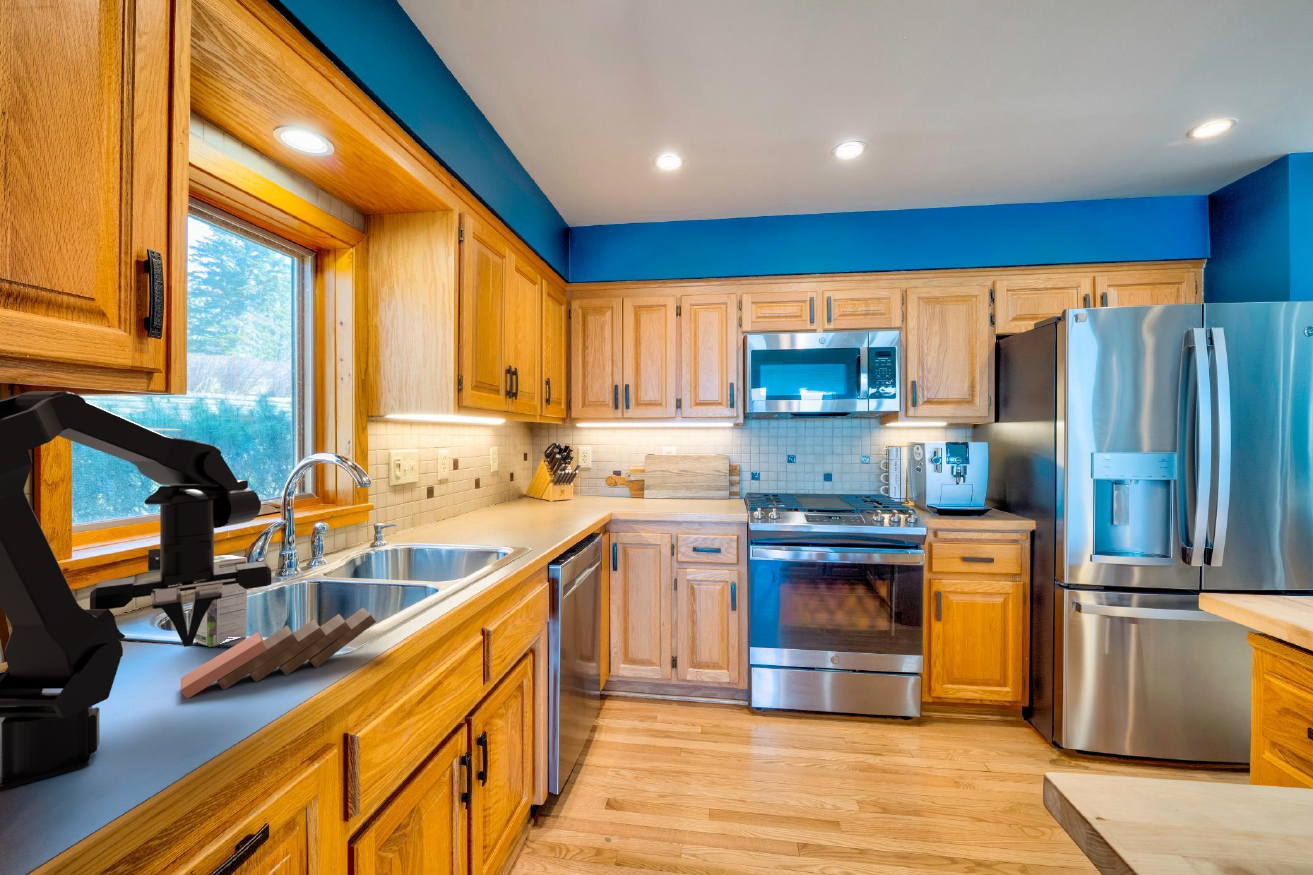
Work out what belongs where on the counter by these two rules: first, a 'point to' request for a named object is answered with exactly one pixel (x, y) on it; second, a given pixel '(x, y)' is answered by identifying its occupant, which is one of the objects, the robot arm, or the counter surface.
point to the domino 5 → (345, 636)
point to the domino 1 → (222, 665)
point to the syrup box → (225, 608)
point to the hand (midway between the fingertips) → (188, 645)
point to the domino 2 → (261, 656)
